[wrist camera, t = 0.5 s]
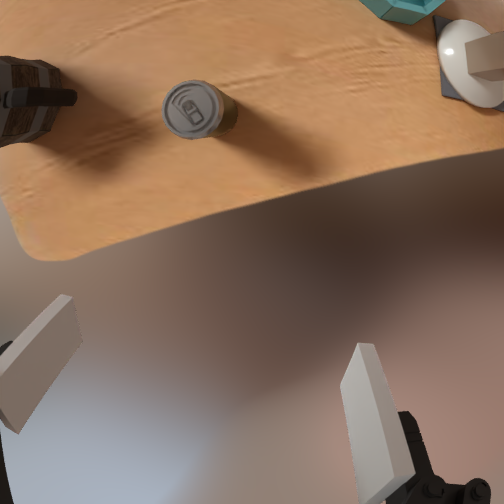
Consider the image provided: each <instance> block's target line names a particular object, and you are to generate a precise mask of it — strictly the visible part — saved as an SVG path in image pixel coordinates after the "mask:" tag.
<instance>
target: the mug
mask: <svg viewBox="0 0 504 504" xmlns="http://www.w3.org/2000/svg"><path fill="white" fill-rule="evenodd" d="M76 100H77V92H76V91H75V90H71V89H62V87H61V79H60V71H59V69H58V68H56V67H54V66H52V65H50V64H48V63H46V62H44V61H42V60H25V59H19V58H15V57H11V56H0V148H1V147H4V146H6V145H9V144H14V143H29V142H31V141H33V140H34V139H36V138H38V137H40V136H41V135H43V134H45V133H47V132H49V131H50V130H51V127H52V125H53V122H54V120H55V117H56V115H57V113H58V110H59V108H60V106H73V105H74V104H75V103H76Z"/></svg>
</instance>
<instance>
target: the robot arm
mask: <svg viewBox="0 0 504 504" xmlns="http://www.w3.org/2000/svg"><path fill="white" fill-rule="evenodd" d="M82 342H83V340H82V337H81V332H80V328H79V323H78V319H77V314H76V310H75V305H74V300H73V297H71V296H67V295H63V294H61V295H59V296H58V297H57V298H56V299H55V300H54V301H53V302H52V303H51V304H50V305H49V306H48V307H47V308H46V309H45V310H44V311H43V312H42V313H41V314H40V315H39V316H38V317H37V318H36V319H35V320H34V321H33V322H32V323H31V324H30V325H29V326H28V327H27V328H26V329H25V330H24V331H23V332H22V333H21V334H20V335H19V336H18V337H17V338H16V340H15V341H14V342H13V341H9V342H7V343H5V344H4V345H2V346H1V347H0V419H1V421H2V422H3V423H4V425H5V426H6V427H7V428H9V429H10V430H12V431H13V432H15V433H17V434H19V433H20V431H21V430H22V428H23V426H24V425H25V423H26V422H27V420H28V419H29V417H30V416H31V414H32V413H33V411H34V409H35V408H36V406H37V405H38V403H39V402H40V401H41V399H42V397H43V396H44V395H45V393H46V392H47V390H48V389H49V387H50V386H51V384H52V383H53V382H54V380H55V379H56V377H57V376H58V375H59V373H60V372H61V370H62V369H63V367H64V366H65V365H66V364H67V362H68V361H69V359H70V358H71V357H72V355H73V354H74V353H75V351H76V350H77V348H78V347H79V346H80V345H81V343H82ZM340 388H341V394H342V398H343V404H344V409H345V415H346V421H347V427H348V432H349V439H350V445H351V451H352V458H353V464H354V471H355V478H356V486H357V493H358V501H359V504H380V503H382V502H383V501H384V500H386V504H490V498H491V489H490V486H489V485H488V483H487V482H486V481H485V480H483V479H480V478H474V479H473V480H471V481H469V482H468V483H467V484H466V485H458V484H448V483H445V481H444V480H443V479H442V478H441V477H439V476H437V475H435V474H434V473H433V470H432V467H431V464H430V460H429V457H428V455H427V451H426V448H425V445H424V442H423V441H422V440H423V439H422V436H421V433H420V430H419V427H418V424H417V421H416V420H415V418H414V417H413V416H412V415H411V414H410V412H409V411H403V412H397V409H396V406H395V403H394V400H393V397H392V394H391V391H390V388H389V385H388V382H387V380H386V377H385V374H384V371H383V368H382V365H381V363H380V360H379V357H378V354H377V352H376V349H375V346H374V344H368V343H358V344H357V346H356V349H355V351H354V354H353V356H352V359H351V361H350V363H349V366H348V368H347V371H346V373H345V375H344V377H343V380H342V382H341V384H340ZM0 504H14V503H13V499H12V495H11V492H10V487H9V482H8V478H7V473H6V467H5V463H4V456H3V449H2V442H1V434H0Z"/></svg>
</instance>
